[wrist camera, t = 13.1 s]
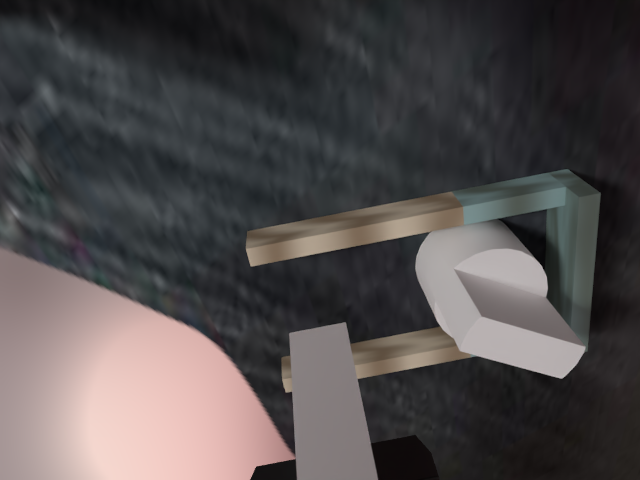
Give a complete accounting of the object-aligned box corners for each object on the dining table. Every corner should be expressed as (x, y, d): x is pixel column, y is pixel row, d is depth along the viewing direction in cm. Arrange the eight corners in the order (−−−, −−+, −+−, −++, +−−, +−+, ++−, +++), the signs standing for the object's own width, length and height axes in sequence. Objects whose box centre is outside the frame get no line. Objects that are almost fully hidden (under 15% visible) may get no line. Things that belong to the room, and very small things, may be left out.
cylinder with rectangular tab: (398, 287, 48) (435, 382, 37) (445, 199, 44) (501, 278, 34) (484, 312, 50) (542, 409, 40) (535, 231, 46) (614, 314, 36)
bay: (285, 369, 51) (286, 409, 47) (247, 231, 44) (244, 262, 40) (559, 317, 51) (587, 351, 47) (567, 168, 44) (600, 193, 39)
